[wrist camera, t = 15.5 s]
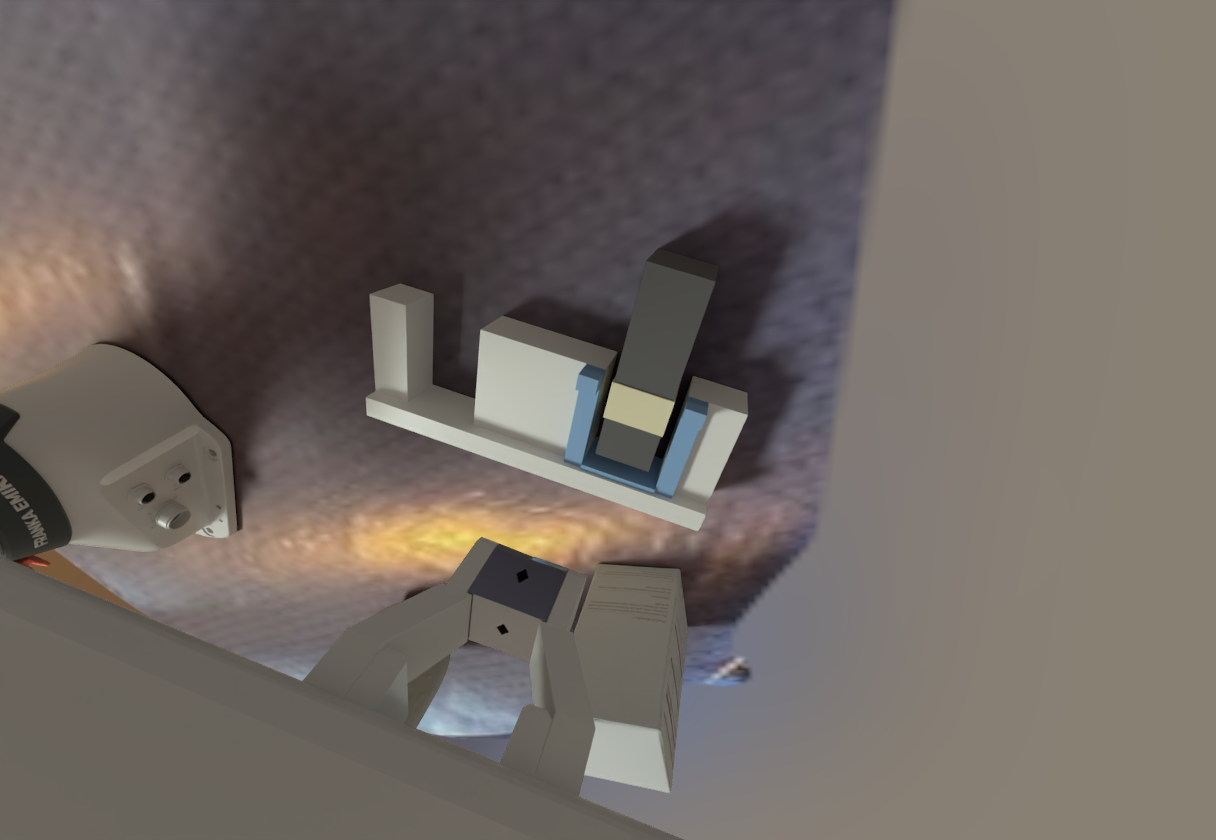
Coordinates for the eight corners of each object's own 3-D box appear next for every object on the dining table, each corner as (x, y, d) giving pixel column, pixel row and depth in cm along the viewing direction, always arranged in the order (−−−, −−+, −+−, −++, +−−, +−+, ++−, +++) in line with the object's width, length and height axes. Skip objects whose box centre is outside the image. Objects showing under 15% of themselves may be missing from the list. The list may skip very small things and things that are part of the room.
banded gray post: (659, 439, 31) (649, 473, 28) (609, 422, 32) (593, 454, 28) (720, 266, 25) (717, 282, 22) (656, 247, 25) (643, 260, 22)
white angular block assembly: (702, 493, 32) (697, 537, 29) (403, 391, 35) (360, 419, 31) (747, 392, 28) (748, 429, 24) (400, 283, 30) (350, 300, 27)
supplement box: (610, 619, 42) (565, 774, 31) (597, 560, 39) (542, 711, 28) (690, 628, 40) (672, 798, 29) (683, 567, 36) (660, 733, 26)
